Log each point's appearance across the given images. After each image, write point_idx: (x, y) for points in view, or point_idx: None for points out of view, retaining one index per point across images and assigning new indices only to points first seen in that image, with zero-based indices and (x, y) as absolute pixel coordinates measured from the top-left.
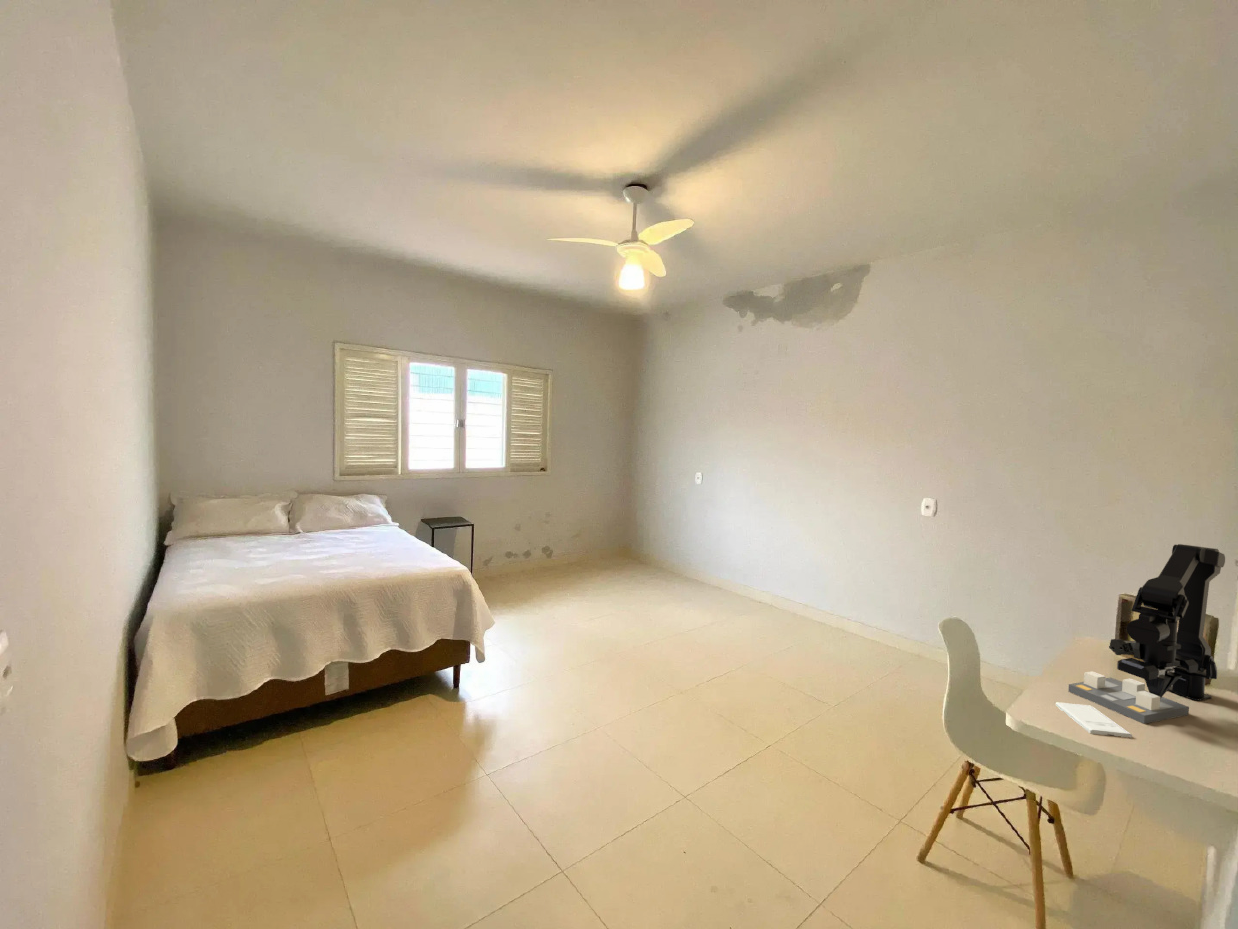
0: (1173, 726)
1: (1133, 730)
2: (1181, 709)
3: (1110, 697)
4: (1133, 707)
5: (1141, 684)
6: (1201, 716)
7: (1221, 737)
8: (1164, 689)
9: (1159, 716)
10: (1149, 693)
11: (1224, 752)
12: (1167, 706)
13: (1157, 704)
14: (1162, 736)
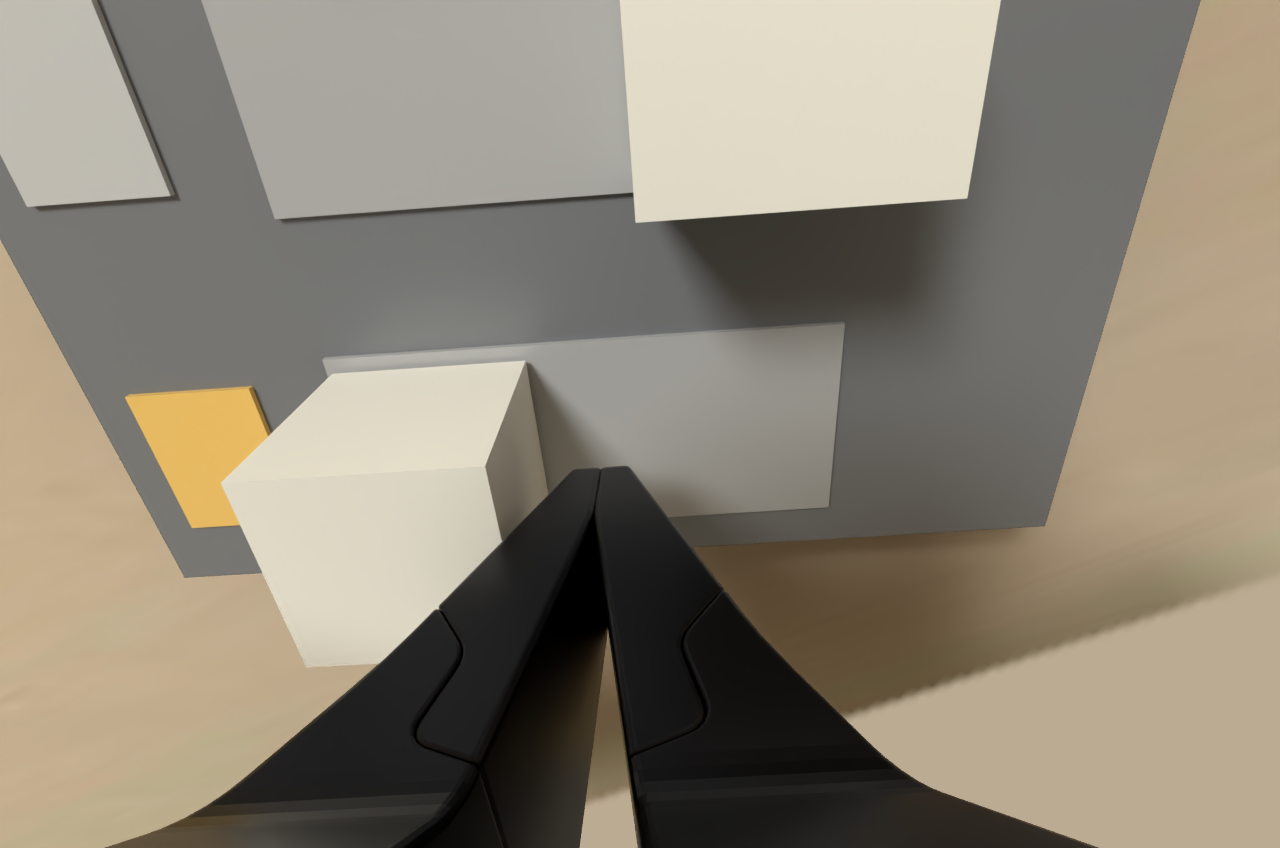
0: None
1: (11, 572)
2: (889, 524)
3: (78, 95)
4: (204, 434)
5: (820, 204)
6: (1084, 506)
7: None
8: (581, 800)
9: None
10: (453, 560)
11: None
12: (752, 489)
13: None
14: (217, 665)
